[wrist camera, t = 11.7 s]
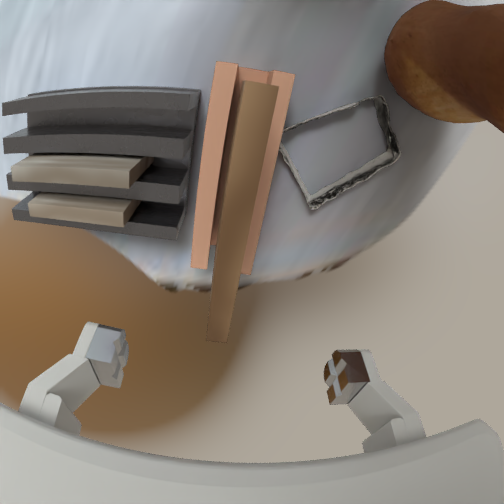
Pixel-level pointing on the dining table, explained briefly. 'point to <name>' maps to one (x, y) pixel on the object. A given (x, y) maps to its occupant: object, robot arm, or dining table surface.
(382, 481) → the robot arm
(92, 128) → the rack
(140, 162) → the offcut
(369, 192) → the dining table surface
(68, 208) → the offcut
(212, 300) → the tall sheet
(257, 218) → the holder
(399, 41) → the butternut squash
